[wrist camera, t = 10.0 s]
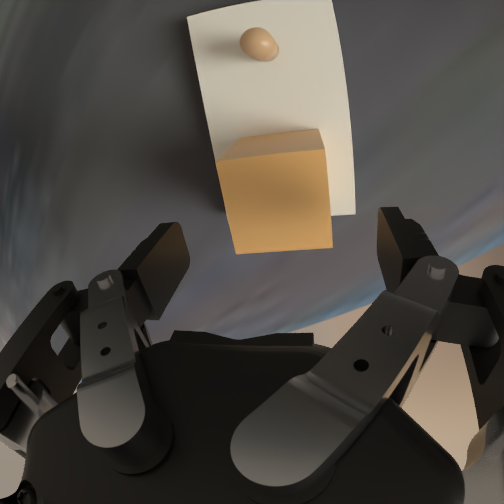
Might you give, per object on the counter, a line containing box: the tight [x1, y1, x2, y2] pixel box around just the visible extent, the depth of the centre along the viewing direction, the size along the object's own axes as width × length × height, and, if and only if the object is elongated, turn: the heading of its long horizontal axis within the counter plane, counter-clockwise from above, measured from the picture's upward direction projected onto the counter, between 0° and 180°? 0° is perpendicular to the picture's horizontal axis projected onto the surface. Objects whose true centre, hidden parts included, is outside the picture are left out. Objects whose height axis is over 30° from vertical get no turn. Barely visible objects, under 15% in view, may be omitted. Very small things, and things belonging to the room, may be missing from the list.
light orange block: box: [215, 129, 333, 254], centre depth 17 cm, size 5×5×6 cm
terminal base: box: [187, 0, 355, 222], centre depth 16 cm, size 9×15×6 cm, turn 9°
